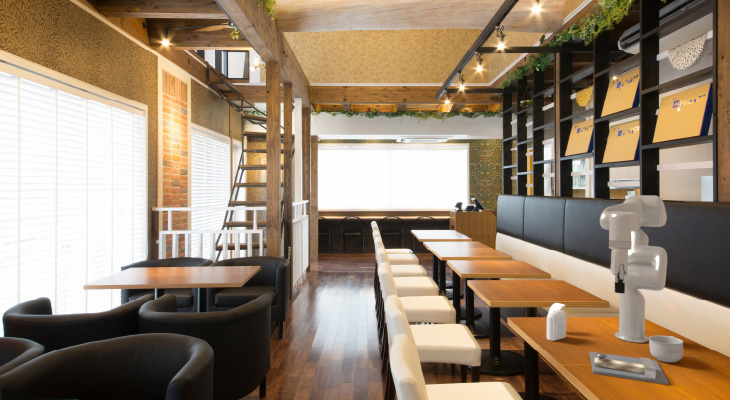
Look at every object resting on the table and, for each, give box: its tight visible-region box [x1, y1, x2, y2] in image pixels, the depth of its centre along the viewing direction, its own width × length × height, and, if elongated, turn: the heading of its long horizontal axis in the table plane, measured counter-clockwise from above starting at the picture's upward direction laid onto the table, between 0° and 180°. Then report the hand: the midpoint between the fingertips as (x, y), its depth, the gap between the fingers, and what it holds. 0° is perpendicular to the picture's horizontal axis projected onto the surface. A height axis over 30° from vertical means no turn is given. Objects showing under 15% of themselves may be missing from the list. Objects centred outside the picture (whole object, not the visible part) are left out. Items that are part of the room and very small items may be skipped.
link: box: [595, 352, 644, 374], centre depth 154 cm, size 18×4×4 cm, turn 62°
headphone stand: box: [548, 302, 566, 313], centre depth 201 cm, size 5×6×12 cm
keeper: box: [639, 357, 656, 379], centre depth 151 cm, size 10×3×5 cm, turn 156°
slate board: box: [589, 351, 669, 386], centre depth 158 cm, size 20×22×1 cm
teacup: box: [648, 335, 684, 363], centre depth 167 cm, size 14×11×8 cm
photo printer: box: [545, 309, 567, 342], centre depth 190 cm, size 10×4×12 cm, turn 123°
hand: (619, 292), depth 168 cm, fingers closed
